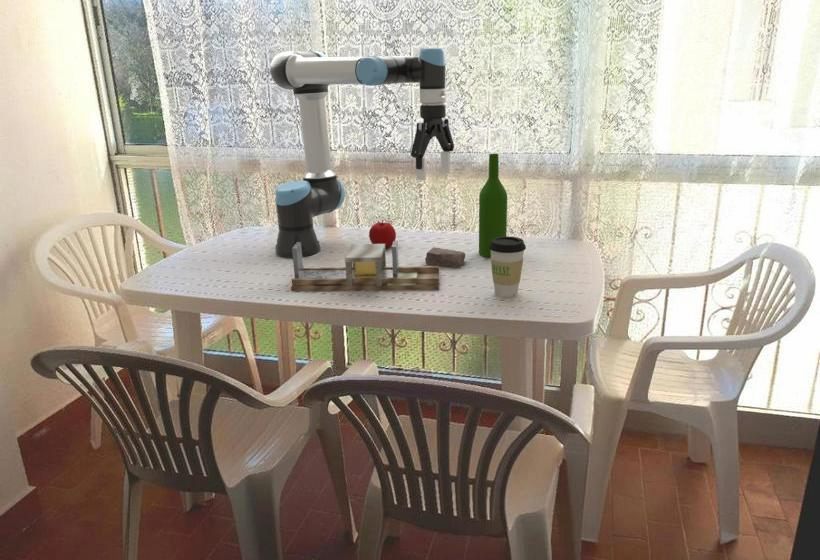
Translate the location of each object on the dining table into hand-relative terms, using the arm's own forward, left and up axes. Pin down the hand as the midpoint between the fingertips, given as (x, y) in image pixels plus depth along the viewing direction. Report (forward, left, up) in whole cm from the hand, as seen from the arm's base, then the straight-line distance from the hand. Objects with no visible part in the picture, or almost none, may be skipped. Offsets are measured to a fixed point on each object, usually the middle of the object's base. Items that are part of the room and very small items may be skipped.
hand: (433, 176), depth 191 cm
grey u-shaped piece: (-13, -29, -26) cm, 41 cm away
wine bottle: (+12, +16, -28) cm, 34 cm away
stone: (+3, +1, -28) cm, 28 cm away
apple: (-25, +6, -28) cm, 38 cm away
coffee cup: (+32, -15, -28) cm, 45 cm away
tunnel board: (-8, -26, -27) cm, 38 cm away
